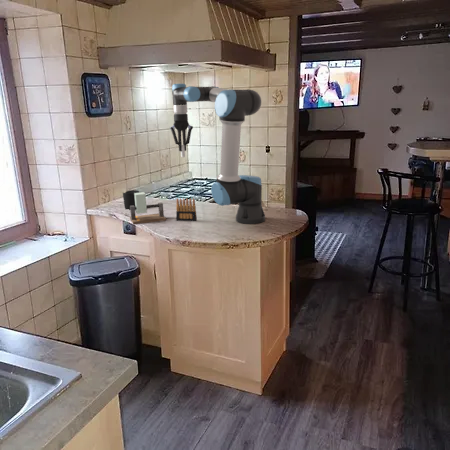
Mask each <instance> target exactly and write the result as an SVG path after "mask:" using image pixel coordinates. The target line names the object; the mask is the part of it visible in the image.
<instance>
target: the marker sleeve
mask: <svg viewBox="0 0 450 450" xmlns="http://www.w3.org/2000/svg"><path fill="white" fill-rule="evenodd" d="M134 196H135V207H137V210H135V213H136V214H145V213H148V210H147V209H148V208H147V207H146V205H147V197H146V196H147V195H146V193H145V192H144V191H143V192H139V193H134Z"/></svg>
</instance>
